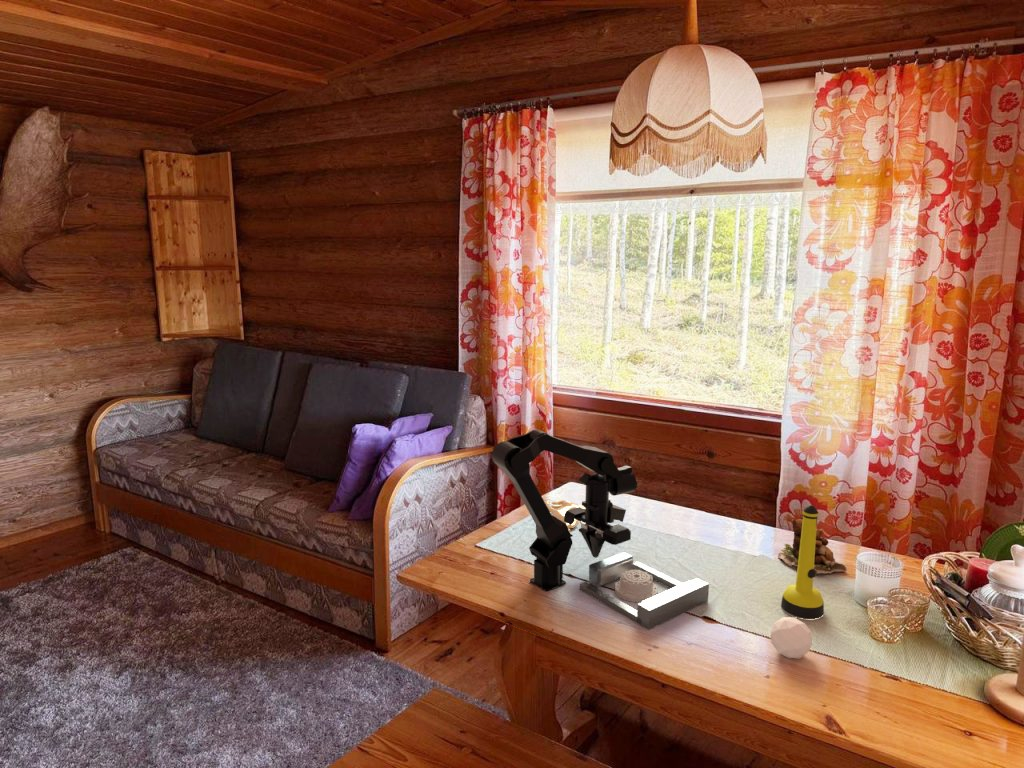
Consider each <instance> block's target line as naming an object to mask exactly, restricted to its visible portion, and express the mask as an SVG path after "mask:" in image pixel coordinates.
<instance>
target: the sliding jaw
mask: <svg viewBox="0 0 1024 768" xmlns="http://www.w3.org/2000/svg"><path fill="white" fill-rule="evenodd" d="M633 563H634V555H631V554H629V553H628V552H625V551H623V552H621V553H617V554H615V555H613V556H610V557H606V558H604V559H602V560H599V561H596V562H593V563H590V564H589V565H588V583H590V584H591V585H593V586H595V587H597V588H599V587H601V586H604V585H607V584H608V583H609V584H610V583H612V582H614V581H616V580H618V579H621V574H623V573H624V571H630V570H631V569H632V570H633Z"/></svg>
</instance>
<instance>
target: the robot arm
mask: <svg viewBox="0 0 1024 768" xmlns="http://www.w3.org/2000/svg"><path fill="white" fill-rule="evenodd" d="M544 451H546V452H550V453H551V454H552V453H553V454H555V455H558V456H561V457H563V458H566V459H569V460H571V461H574V462H576V463H577V464H578V465H580V466H582V467H583V468H585V469H587V470H589V471H591V472H594V474H589V473H587V472H584V473H583V474H582V476H580V477H578V482H579V483H581V484H583V485H585V500H584V501H581V505H582V506H584V507H585V509H583V508H581V507H578V508H574V509H571V510H567V511H566V513H565V514H564V522H566V523H568V524H570V525H571V524H573V523H574V519H576V520H578V522H579V524H580V528H578V532H579V533H580V535H581V536H582V538H583V539H584V541H585V543H586V545H587V547H588V550H589V551H590V553H591V555H592V557H593V558H595V559H596V558H599V555H600V553H601V550H602V549H603V547H604V544H605V542H606V543H608V544H610V545H612V546H616V545H620V544H622V543H625V542H628V541H630V540H632V539H631V538H632V535H631V534H632V531H631V529H629V528H628V527H626V526H624V525H621V524H615V525H611V524H612V523H615V522H614V521H620V522H622V523H623V522H624V519H625V516H626V511H627V509H625V508H623V507H620V506H618V505H615V504H613V502H611V501H612V500H611V499H609V498H610V494H611V496H618V495H623V494H629V493H635V492H636V490H637V487H638V481H637V479H636V476H635V474H634V472H633V467H632V466H629V465H623V466H621V467H617V465H616V464H615V463H614V461H615V459H614V456H613V455H612V454H611V453H610V452H607V451H605V450H604V449H600V448H598V447H596V446H590V445H578V444H575V443H572V442H569V441H567V440H564V439H561V438H558V437H556V436H553V435H551V434H548V433H546V432H544V431H543V430H540V429H532V430H531V431H529V432H527V433H524V434H522V435H521V434H520V435H517V436H514V437H511V438H509V439H507V440H505V441H504V440H503V441H500V442H498V443H497V444H496V445H495V446H494V447H493V450H492V452H491V458H492V461H493V463H494V464H495V465H496V466H497V467H498V469H500V471H501V472H502V473H504V474H505V476H506V477H507V478H509V480H511V482H512V484H513V486H514V487H515V489H516V491H517V493H518V495H519V497H520V498H521V501H522V502H523V504H524V505H525V507H526V509H527V511H528V513H529V515H530V516H531V518H532V520H533V522H534V524H535V534H536V538H535V540H533V542H532V543H531V545H530V546H529V547H528V549H529V551H530V555H532V556H533V557H535V558H536V559H534V561H533V577H532V578H530V579H529V582H530V583H532V584H533V585H535V586H537V587H539V588H540V589H541V590H543V591H545V592H549V591H550V590H553V589H557V588H559V587H561V586H564V585H566V584H567V581H565V580H564V579H563V578H564V571H563V570H564V565H566V563H567V559H568V556H569V554H570V550H571V548H572V545H573V539H572V537H574V535H573V534H571V531H569V530H568V527H567V525H566V523H564V522H563V521H561V520H559V519H558V518H556V517H555V516H552V515H551V514H552V512H550V511H549V509H548V507H547V506H546V504H545V503H546V501H545V500H544V498H543V497H542V494H541V492H540V491H539V489H538V487H537V485H536V483H535V481H534V480H533V477H532V476H531V464H530V463H532V462H533V461H535V460H536V459H537V457H538V456H539V455H540V454H541V453H542V452H544Z"/></svg>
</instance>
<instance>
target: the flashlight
mask: <svg viewBox="0 0 1024 768" xmlns="http://www.w3.org/2000/svg"><path fill="white" fill-rule="evenodd" d="M802 516H803V522H802V532H801V541H800V550H799V559H798V566H797V571H796V580H795V583H794V584H793V583H792V584H790V585H788V586H787V587H786V588H785V590H784V591H783V592H782V597H781V604H780V609H781V610H782V611H783V612H784V614H787V616H789V615H790V616H789V617H791V616H793V617H797V618H803V619H815V618H819V617H821V616H822V615H823V614H824V613H825V611H824V609H825V603H824V602H825V601H824V598H823V596H822V594H821V592H820V591H819V590H818V589H817V588H815V587H814V578H816V575H817V573H816V571H815V570H814V559H815V544H816V529H817V528H818V527H817V525H818V517H819V516H820V515H819V510H818V509H817V508H816V506H814V505H813V504H809V505H806V507H804V509H803V510H802ZM797 618H796V619H797Z"/></svg>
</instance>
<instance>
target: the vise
mask: <svg viewBox="0 0 1024 768" xmlns="http://www.w3.org/2000/svg"><path fill="white" fill-rule="evenodd" d="M635 569H636V570H641V571H643V572H647V574H649V575H652V577H653V581H655V582H657V583H659V584H660V585H661V584H662V585H664V586H665V587H668V588H669V589H667V590H665V591H663V592H660V593H658V595H655V596H653V597H651V598H649V599H646V600H644V601H642V602H638V603H637V609H635V608H634V607H632V606H630V605H628V604H627V603H625V602H624V601H621V600H619V599H618V598H617V597H614V596H612V595H611V594H609V593H607V592H606V591H604V590H602V589H600V588H599V587H596V586H594V585H593V584H591V583H589V581H582V582H580V583H579V591H582V592H583V594H584V593H585V594H586V595H587V596H589V597H591V598H593V599H595V600H596V601H599V602H600V603H601V604H604V605H605V606H607V607H609V608H611V609H612V610H614V611H615V612H617V613H619V614H620V615H622V616H624V617H626V618H627V619H629V620H630V621H633V622H634V623H636V624H637V625H639V626H641V627H643V628H645V629H646V630H648V631H650V630H651V629H654V628H656V627H658V626H659V625H662V624H664V623H666V622H668V621H670V620H673V619H674V618H676V617H679V616H681V615H683V614H685V613H688V612H689V611H692V610H694V609H695V608H697V607H700V606H701V605H704V604H705V603H708V602H709V593H710V591H709V589H710V583H709V582H706V581H704V580H702V579H700V578H698V577H695V578H694V579H691V580H688V581H685V582H681V581H679V580H678V579H675V578H673V577H671V576H669V575H666V574H665V573H663V572H661V571H658V570H656V569H655V568H652V567H650V566H648V565H647V564H644V563H642V562H640V561H635V562H634V561H633V570H635Z"/></svg>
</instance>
